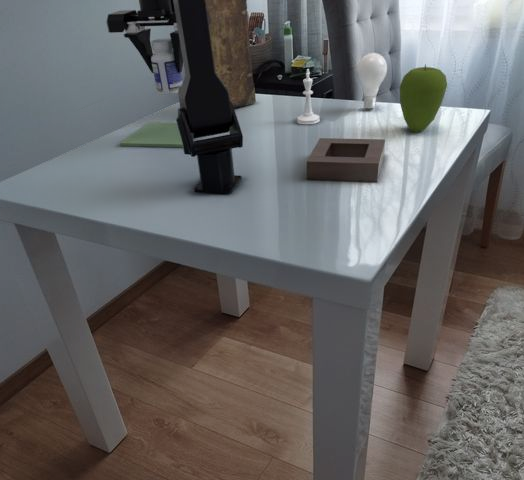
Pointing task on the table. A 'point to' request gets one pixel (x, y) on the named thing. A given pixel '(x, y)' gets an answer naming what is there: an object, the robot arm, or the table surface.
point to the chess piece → (308, 104)
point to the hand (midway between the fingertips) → (166, 72)
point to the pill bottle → (165, 67)
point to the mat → (155, 136)
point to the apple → (422, 96)
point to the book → (232, 49)
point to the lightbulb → (371, 77)
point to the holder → (346, 159)
